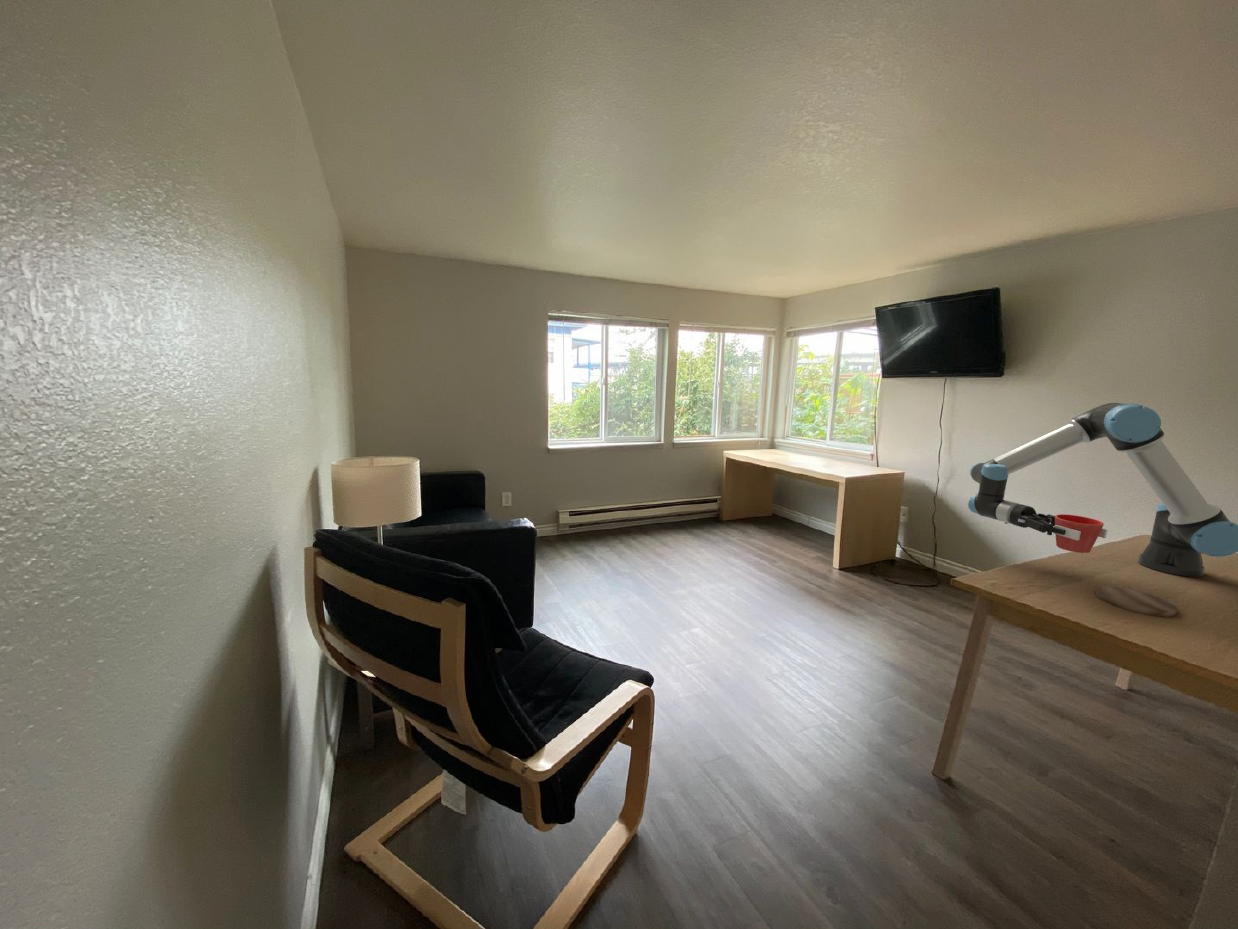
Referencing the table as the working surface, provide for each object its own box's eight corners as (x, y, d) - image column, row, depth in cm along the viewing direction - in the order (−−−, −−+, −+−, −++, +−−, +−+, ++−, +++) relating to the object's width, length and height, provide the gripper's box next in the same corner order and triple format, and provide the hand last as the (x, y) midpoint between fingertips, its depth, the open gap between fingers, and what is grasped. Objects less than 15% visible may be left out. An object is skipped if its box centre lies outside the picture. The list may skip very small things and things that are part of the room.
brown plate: (1139, 593, 146) (1140, 588, 145) (1194, 619, 130) (1195, 613, 130) (1081, 589, 148) (1082, 584, 147) (1128, 614, 132) (1129, 609, 132)
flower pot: (1100, 558, 141) (1107, 526, 140) (1051, 549, 148) (1057, 519, 146) (1094, 548, 150) (1100, 518, 148) (1048, 540, 156) (1053, 512, 155)
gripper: (1039, 523, 168) (1117, 544, 147) (988, 526, 163) (1062, 549, 142) (1043, 502, 167) (1122, 520, 146) (992, 505, 162) (1066, 525, 140)
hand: (1092, 534), depth 144 cm, fingers closed on flower pot, 10 cm apart
